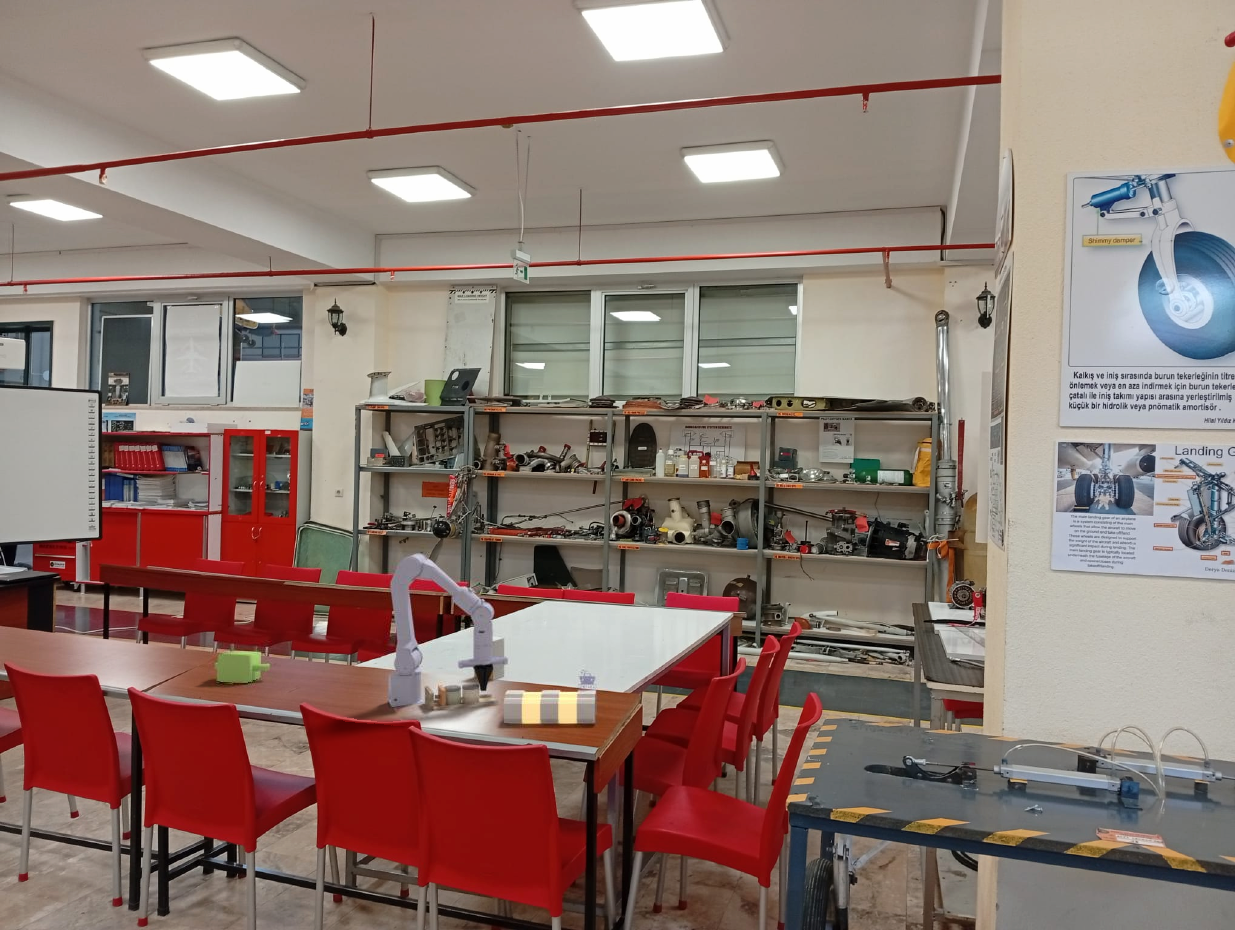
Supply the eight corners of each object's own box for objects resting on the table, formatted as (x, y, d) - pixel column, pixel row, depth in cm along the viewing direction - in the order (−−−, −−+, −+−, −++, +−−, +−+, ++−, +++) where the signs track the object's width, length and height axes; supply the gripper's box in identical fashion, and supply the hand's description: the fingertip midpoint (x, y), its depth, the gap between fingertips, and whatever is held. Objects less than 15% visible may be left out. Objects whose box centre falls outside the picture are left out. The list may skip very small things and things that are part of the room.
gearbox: (276, 679, 293) (277, 650, 294) (260, 685, 284) (261, 655, 284) (225, 676, 296) (226, 648, 296) (208, 682, 286) (209, 653, 286)
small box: (473, 677, 292) (473, 638, 292) (485, 673, 298) (485, 635, 298) (493, 680, 288) (493, 640, 288) (504, 676, 294) (504, 637, 294)
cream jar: (464, 705, 256) (464, 688, 256) (460, 701, 260) (460, 684, 260) (481, 703, 258) (481, 686, 258) (476, 699, 263) (476, 682, 263)
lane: (430, 713, 250) (430, 693, 250) (424, 704, 259) (424, 685, 259) (499, 705, 257) (499, 686, 257) (490, 697, 267) (490, 679, 267)
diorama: (596, 714, 249) (596, 668, 249) (595, 725, 238) (595, 677, 238) (508, 715, 249) (508, 669, 249) (503, 725, 239) (503, 677, 239)
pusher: (437, 708, 252) (437, 691, 252) (432, 702, 258) (432, 685, 258) (445, 707, 253) (445, 690, 253) (441, 701, 259) (441, 684, 259)
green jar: (446, 707, 254) (445, 690, 254) (441, 703, 258) (441, 686, 258) (462, 705, 256) (462, 688, 256) (458, 701, 260) (458, 684, 261)
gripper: (461, 649, 254) (461, 695, 254) (510, 645, 260) (510, 691, 260) (456, 644, 261) (456, 690, 261) (504, 640, 266) (504, 685, 266)
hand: (483, 690), depth 261 cm, fingers closed
